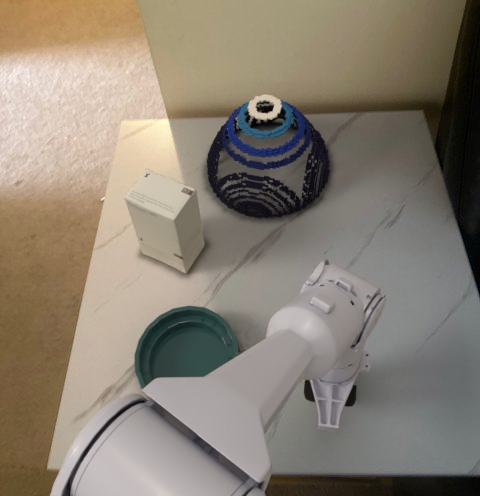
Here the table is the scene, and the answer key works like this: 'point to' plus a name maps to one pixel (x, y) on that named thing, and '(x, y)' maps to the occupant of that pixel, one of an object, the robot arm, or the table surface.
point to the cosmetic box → (166, 219)
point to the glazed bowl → (184, 345)
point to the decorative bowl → (277, 112)
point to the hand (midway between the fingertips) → (328, 382)
